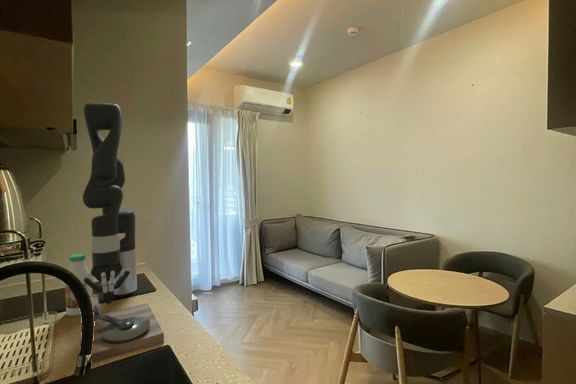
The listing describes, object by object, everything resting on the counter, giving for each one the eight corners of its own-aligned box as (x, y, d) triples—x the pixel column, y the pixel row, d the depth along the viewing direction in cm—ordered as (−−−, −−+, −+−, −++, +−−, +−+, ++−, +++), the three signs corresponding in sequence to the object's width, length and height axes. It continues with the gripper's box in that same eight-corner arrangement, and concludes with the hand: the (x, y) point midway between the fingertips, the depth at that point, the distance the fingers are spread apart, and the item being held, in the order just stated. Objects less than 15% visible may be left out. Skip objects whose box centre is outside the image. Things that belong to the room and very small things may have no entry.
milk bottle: (77, 306, 108) (74, 252, 107) (98, 306, 108) (95, 252, 107) (60, 316, 100) (57, 258, 99) (83, 316, 100) (80, 258, 99)
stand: (86, 325, 94) (85, 314, 94) (147, 310, 105) (147, 300, 105) (87, 364, 74) (87, 351, 74) (164, 341, 85) (163, 329, 85)
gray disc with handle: (159, 326, 88) (158, 300, 87) (120, 347, 77) (118, 318, 77) (112, 311, 98) (111, 288, 97) (72, 328, 87) (70, 302, 87)
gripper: (127, 243, 100) (129, 294, 101) (79, 250, 92) (82, 304, 93) (131, 247, 95) (134, 301, 95) (81, 254, 86) (84, 313, 87)
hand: (108, 302), depth 94 cm, fingers closed
